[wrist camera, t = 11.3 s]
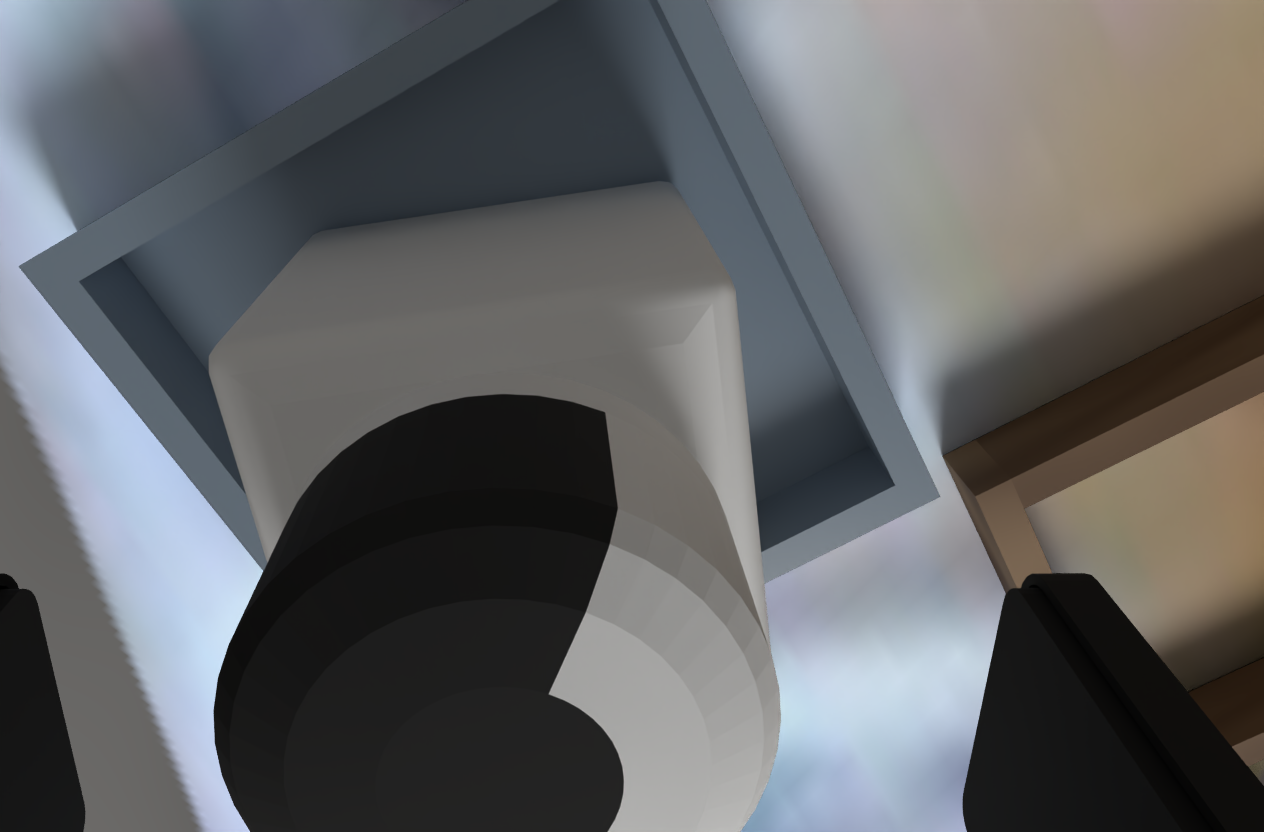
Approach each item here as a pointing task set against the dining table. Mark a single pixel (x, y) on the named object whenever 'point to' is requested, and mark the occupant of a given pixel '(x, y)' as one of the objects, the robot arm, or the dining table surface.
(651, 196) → the medicine bottle
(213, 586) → the dining table surface
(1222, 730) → the collar
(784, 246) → the tray
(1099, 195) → the dining table surface
